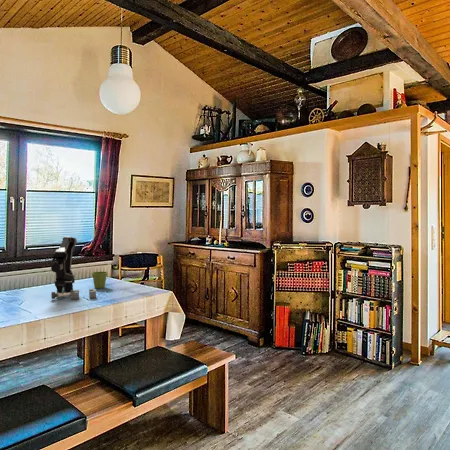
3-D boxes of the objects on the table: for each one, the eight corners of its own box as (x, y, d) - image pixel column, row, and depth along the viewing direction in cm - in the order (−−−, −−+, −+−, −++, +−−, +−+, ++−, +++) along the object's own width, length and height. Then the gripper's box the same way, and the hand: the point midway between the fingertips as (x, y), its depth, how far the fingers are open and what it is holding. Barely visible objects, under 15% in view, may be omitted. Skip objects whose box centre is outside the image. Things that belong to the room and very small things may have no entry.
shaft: (51, 299, 247) (51, 292, 247) (51, 298, 251) (51, 291, 251) (78, 297, 253) (78, 291, 253) (78, 296, 257) (78, 289, 257)
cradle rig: (70, 300, 250) (70, 292, 249) (70, 297, 257) (70, 290, 257) (95, 298, 255) (95, 291, 255) (95, 295, 263) (95, 288, 262)
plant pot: (110, 286, 294) (110, 271, 294) (102, 289, 282) (102, 274, 282) (96, 285, 296) (96, 271, 296) (88, 288, 285) (88, 273, 284)
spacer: (56, 298, 255) (56, 289, 254) (57, 296, 261) (57, 288, 260) (64, 297, 256) (64, 289, 256) (64, 295, 262) (64, 287, 262)
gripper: (73, 271, 252) (73, 295, 253) (73, 267, 269) (73, 289, 270) (54, 272, 248) (54, 296, 249) (56, 267, 265) (56, 290, 266)
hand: (60, 293), depth 258 cm, fingers open, 9 cm apart
